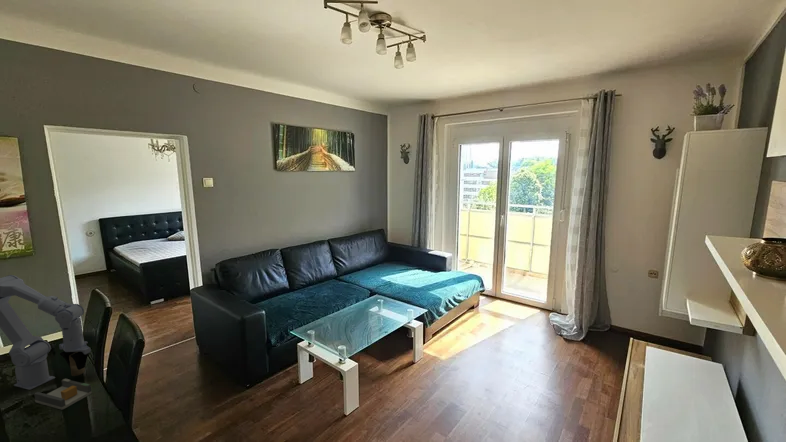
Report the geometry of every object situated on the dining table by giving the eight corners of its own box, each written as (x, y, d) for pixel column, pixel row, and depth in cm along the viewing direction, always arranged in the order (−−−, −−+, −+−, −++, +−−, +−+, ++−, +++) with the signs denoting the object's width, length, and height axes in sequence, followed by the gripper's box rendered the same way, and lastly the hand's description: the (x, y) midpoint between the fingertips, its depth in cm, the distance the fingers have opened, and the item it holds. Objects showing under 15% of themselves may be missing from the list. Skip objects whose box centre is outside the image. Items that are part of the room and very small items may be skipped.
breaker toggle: (61, 399, 118) (60, 391, 118) (73, 392, 122) (72, 385, 121) (65, 400, 118) (64, 392, 118) (77, 393, 121) (76, 386, 121)
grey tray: (35, 402, 118) (33, 393, 118) (65, 387, 127) (64, 378, 127) (62, 409, 115) (60, 400, 114) (91, 393, 123) (90, 384, 123)
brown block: (68, 375, 130) (66, 356, 129) (80, 369, 134) (78, 351, 133) (76, 376, 129) (73, 357, 128) (87, 370, 133) (85, 352, 132)
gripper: (97, 333, 131) (101, 364, 133) (72, 328, 135) (76, 359, 137) (76, 342, 125) (81, 374, 127) (50, 336, 128) (55, 368, 130)
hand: (77, 367), depth 131 cm, fingers closed on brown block, 4 cm apart
